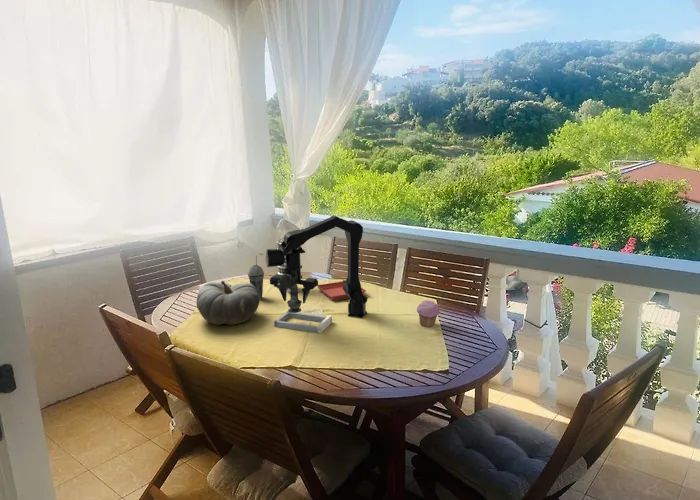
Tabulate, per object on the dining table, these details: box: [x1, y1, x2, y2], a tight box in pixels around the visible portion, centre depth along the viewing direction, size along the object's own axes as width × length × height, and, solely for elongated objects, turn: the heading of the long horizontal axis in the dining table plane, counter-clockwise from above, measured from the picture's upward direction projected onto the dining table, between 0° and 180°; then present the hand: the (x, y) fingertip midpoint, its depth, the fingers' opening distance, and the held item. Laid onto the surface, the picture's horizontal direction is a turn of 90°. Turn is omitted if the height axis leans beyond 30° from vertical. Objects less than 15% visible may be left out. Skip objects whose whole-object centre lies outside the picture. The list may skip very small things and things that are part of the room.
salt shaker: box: [286, 284, 303, 313], centre depth 195 cm, size 6×6×12 cm
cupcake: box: [416, 299, 441, 328], centre depth 194 cm, size 9×9×10 cm
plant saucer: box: [316, 280, 367, 302], centre depth 232 cm, size 18×18×3 cm
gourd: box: [196, 280, 261, 326], centre depth 201 cm, size 25×25×17 cm
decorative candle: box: [276, 237, 290, 293], centre depth 235 cm, size 9×9×25 cm
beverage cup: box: [247, 255, 265, 300], centre depth 224 cm, size 7×7×20 cm
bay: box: [273, 311, 333, 334], centre depth 197 cm, size 20×11×3 cm, turn 70°
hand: (294, 302), depth 196 cm, fingers closed on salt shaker, 8 cm apart
